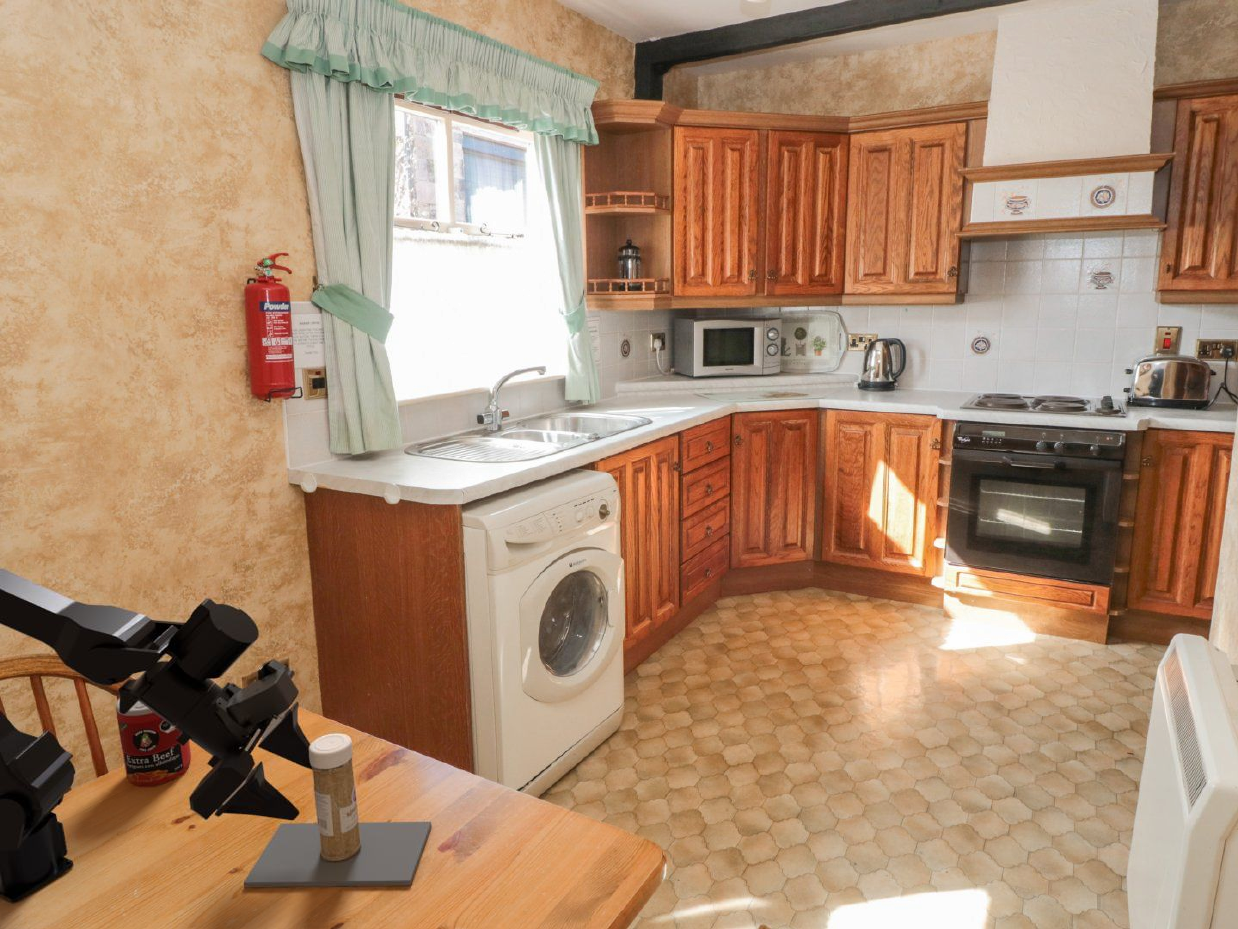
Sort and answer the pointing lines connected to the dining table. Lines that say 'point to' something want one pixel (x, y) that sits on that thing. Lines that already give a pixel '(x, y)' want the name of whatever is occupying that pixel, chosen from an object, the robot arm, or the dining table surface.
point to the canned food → (150, 747)
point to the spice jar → (335, 796)
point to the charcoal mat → (377, 862)
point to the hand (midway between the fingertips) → (308, 791)
